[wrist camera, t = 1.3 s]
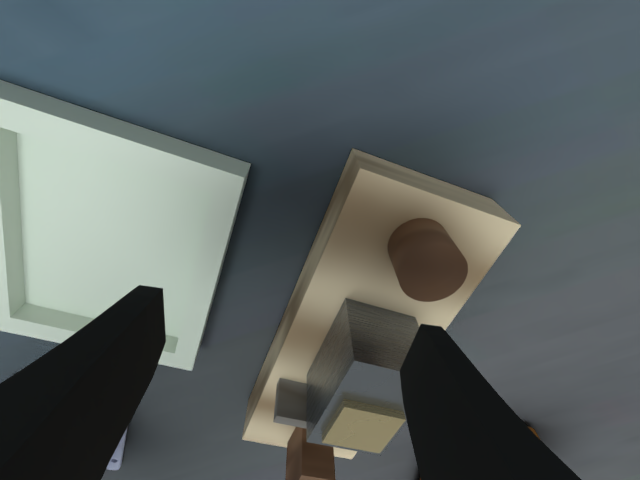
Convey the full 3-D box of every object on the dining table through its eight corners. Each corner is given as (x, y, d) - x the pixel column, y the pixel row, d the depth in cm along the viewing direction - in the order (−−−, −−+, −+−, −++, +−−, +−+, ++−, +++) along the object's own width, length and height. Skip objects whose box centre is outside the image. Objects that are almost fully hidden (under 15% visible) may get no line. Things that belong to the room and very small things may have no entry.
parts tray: (200, 346, 24) (191, 371, 22) (13, 304, 21) (-13, 327, 20) (250, 163, 17) (244, 178, 16) (-4, 78, 15) (-44, 84, 14)
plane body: (347, 419, 28) (357, 518, 22) (248, 399, 26) (232, 500, 21) (491, 198, 19) (571, 270, 13) (352, 147, 17) (374, 204, 11)
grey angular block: (369, 387, 22) (382, 463, 18) (306, 373, 21) (306, 450, 17) (415, 316, 19) (442, 388, 15) (345, 297, 18) (355, 368, 14)
